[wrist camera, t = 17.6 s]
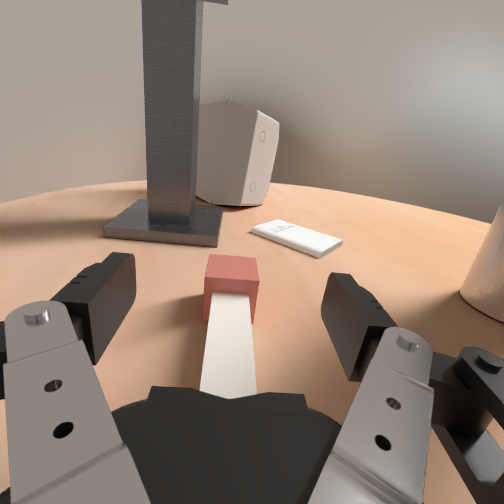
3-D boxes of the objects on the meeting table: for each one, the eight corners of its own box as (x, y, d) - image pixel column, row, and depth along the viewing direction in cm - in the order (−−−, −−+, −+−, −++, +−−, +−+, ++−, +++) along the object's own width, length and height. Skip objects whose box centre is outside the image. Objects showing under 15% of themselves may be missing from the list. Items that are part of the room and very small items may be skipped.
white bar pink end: (270, 522, 13) (287, 460, 11) (168, 523, 12) (168, 459, 10) (250, 296, 29) (255, 257, 27) (206, 293, 28) (209, 253, 27)
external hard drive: (319, 262, 40) (250, 235, 47) (341, 248, 46) (277, 226, 53) (321, 252, 39) (251, 226, 46) (343, 239, 46) (279, 217, 52)
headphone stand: (217, 247, 39) (243, -107, 25) (104, 237, 38) (67, -142, 24) (222, 215, 53) (241, -26, 39) (139, 207, 52) (129, -46, 38)
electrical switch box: (274, 211, 69) (293, 122, 63) (239, 212, 56) (259, 102, 50) (226, 197, 75) (240, 116, 70) (185, 196, 63) (198, 97, 57)
